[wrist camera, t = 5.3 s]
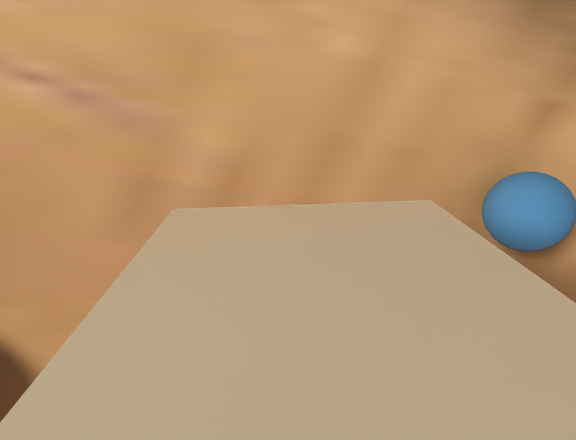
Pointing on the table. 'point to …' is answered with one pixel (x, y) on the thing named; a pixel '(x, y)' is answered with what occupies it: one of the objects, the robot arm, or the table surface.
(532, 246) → the ball
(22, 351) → the table surface
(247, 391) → the beige cube
